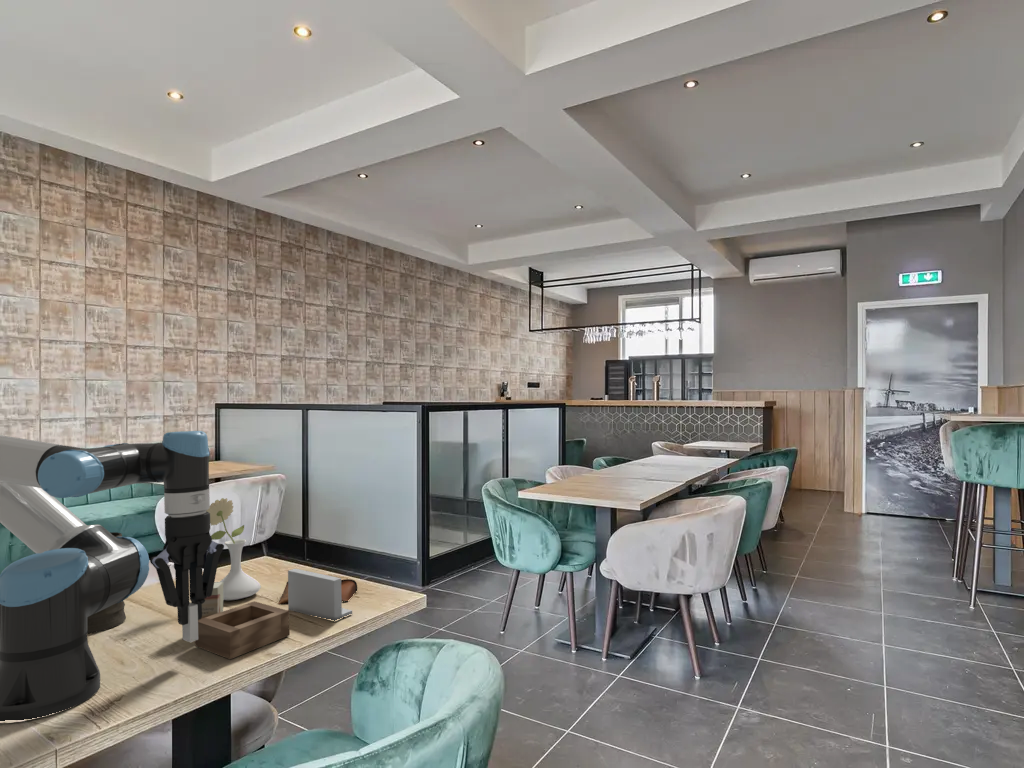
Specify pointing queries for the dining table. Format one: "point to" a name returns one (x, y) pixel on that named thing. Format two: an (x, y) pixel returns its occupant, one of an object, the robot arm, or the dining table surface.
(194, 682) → the dining table surface
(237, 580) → the flower in vase
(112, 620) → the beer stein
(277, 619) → the socket block
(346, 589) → the sunglasses case
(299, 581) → the wall
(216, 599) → the skincare box
